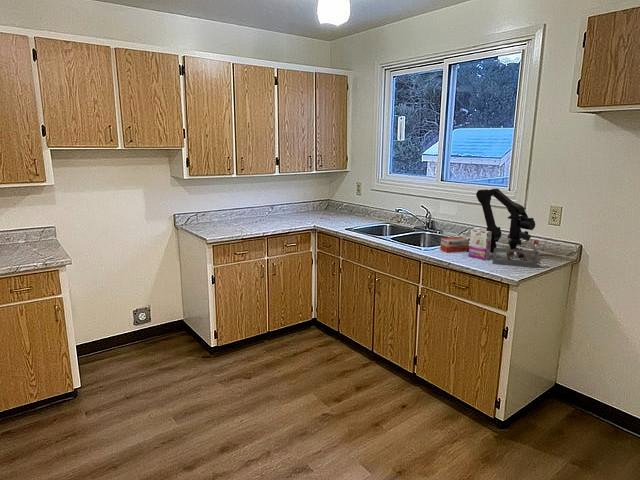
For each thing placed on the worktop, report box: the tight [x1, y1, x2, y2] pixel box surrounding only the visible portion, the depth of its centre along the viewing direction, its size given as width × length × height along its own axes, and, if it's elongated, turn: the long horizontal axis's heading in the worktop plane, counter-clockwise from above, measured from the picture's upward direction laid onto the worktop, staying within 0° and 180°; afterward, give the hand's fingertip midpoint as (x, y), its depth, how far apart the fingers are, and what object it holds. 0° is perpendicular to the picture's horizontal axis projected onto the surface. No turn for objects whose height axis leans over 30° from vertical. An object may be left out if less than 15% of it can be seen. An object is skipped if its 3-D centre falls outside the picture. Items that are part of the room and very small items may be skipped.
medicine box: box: [439, 236, 470, 254], centre depth 264 cm, size 15×8×8 cm, turn 106°
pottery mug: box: [505, 247, 526, 261], centre depth 243 cm, size 12×10×8 cm
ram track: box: [529, 255, 541, 264], centre depth 243 cm, size 4×14×1 cm, turn 159°
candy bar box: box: [468, 228, 492, 261], centre depth 246 cm, size 11×5×16 cm, turn 40°
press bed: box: [492, 247, 539, 269], centre depth 233 cm, size 22×6×9 cm, turn 69°
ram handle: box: [530, 239, 540, 258], centre depth 244 cm, size 3×3×10 cm
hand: (512, 253), depth 248 cm, fingers closed
